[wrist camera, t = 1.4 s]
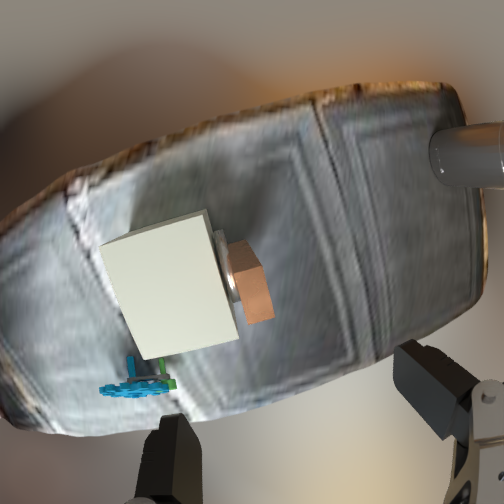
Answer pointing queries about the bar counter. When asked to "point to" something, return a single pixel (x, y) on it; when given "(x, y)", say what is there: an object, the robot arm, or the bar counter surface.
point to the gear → (140, 383)
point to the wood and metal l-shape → (243, 277)
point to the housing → (171, 286)
